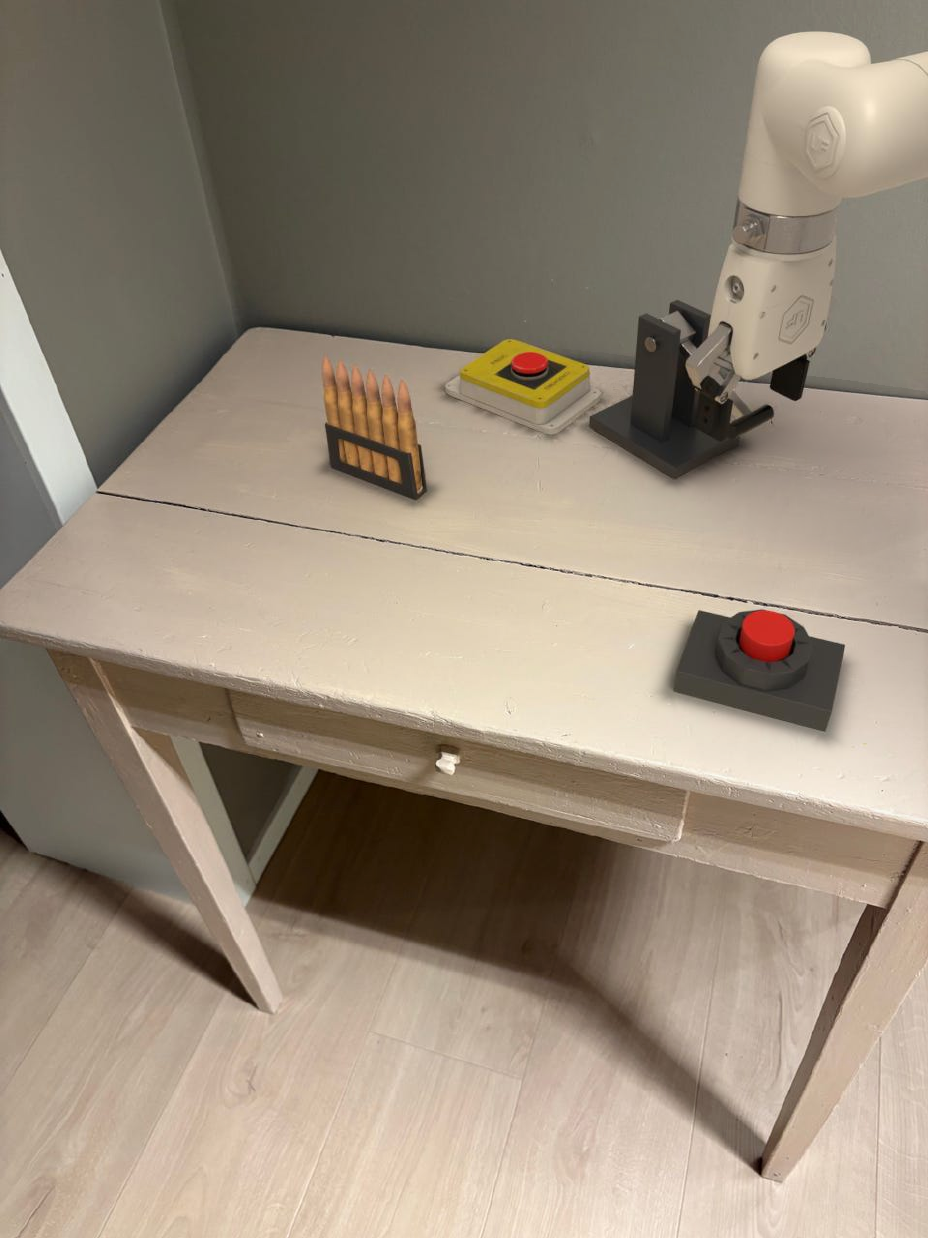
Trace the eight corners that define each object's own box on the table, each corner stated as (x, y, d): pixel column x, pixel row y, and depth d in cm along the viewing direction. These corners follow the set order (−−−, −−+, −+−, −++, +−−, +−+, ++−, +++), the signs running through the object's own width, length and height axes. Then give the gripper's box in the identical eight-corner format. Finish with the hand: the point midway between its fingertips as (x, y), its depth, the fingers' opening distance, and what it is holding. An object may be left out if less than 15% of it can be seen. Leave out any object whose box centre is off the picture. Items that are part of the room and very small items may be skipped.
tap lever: (766, 425, 88) (779, 409, 86) (729, 445, 86) (741, 429, 84) (678, 323, 91) (688, 305, 89) (639, 340, 89) (649, 322, 87)
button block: (839, 664, 73) (851, 627, 70) (825, 731, 68) (837, 694, 66) (695, 629, 76) (701, 592, 74) (673, 691, 72) (678, 654, 69)
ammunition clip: (330, 467, 95) (310, 357, 87) (342, 457, 96) (323, 348, 88) (416, 500, 91) (404, 387, 82) (427, 490, 92) (417, 378, 83)
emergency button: (553, 398, 94) (438, 355, 101) (553, 436, 97) (441, 391, 104) (606, 359, 99) (493, 320, 106) (604, 396, 102) (494, 356, 109)
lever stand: (739, 443, 94) (760, 322, 86) (674, 479, 91) (689, 356, 82) (652, 395, 102) (663, 279, 93) (588, 426, 98) (593, 308, 89)
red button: (794, 634, 70) (798, 617, 69) (785, 667, 68) (790, 650, 67) (744, 622, 72) (748, 605, 70) (734, 655, 69) (738, 638, 68)
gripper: (745, 272, 68) (712, 470, 80) (896, 204, 75) (845, 396, 87) (668, 239, 72) (648, 431, 84) (817, 178, 79) (779, 364, 91)
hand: (748, 413), depth 86 cm, fingers open, 9 cm apart
